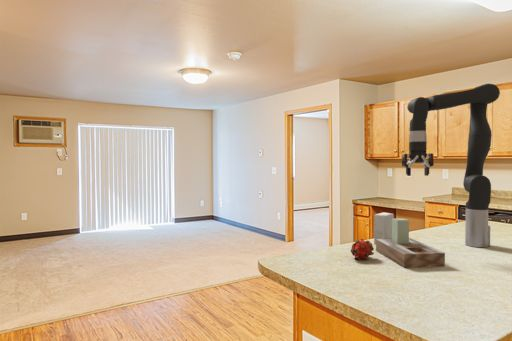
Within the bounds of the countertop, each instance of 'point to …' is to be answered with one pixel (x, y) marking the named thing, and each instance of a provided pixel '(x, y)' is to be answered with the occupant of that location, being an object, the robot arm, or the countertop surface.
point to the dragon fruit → (362, 249)
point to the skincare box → (383, 226)
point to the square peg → (400, 231)
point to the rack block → (411, 253)
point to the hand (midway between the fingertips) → (417, 175)
